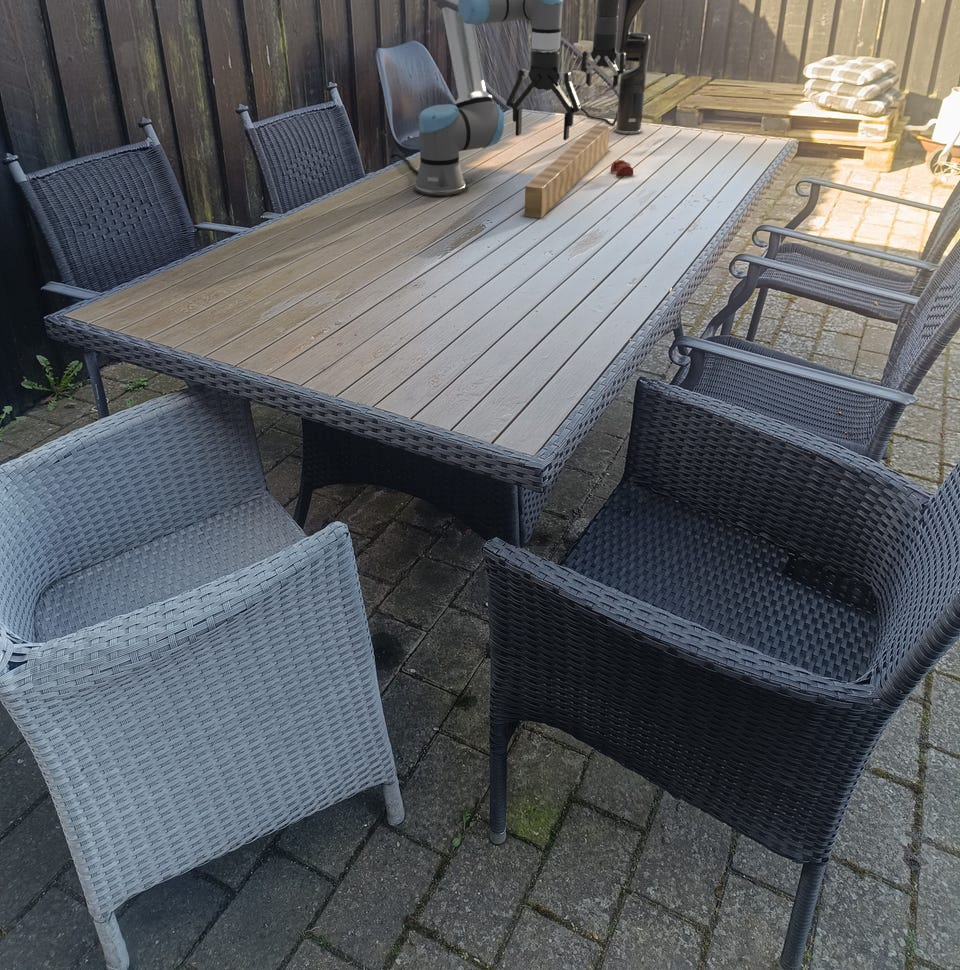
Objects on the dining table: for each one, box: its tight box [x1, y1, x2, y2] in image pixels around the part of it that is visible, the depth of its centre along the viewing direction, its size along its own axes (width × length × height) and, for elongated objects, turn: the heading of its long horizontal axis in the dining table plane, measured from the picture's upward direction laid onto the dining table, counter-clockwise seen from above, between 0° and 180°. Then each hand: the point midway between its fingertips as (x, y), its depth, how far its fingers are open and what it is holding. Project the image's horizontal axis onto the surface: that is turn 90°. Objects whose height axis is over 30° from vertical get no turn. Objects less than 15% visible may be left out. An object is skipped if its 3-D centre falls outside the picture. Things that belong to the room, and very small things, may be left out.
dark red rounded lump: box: [610, 159, 634, 178], centre depth 271 cm, size 6×4×8 cm
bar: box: [523, 124, 611, 219], centre depth 265 cm, size 78×5×8 cm, turn 159°
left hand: (542, 136), depth 230 cm, fingers open, 13 cm apart
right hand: (601, 86), depth 279 cm, fingers open, 8 cm apart
